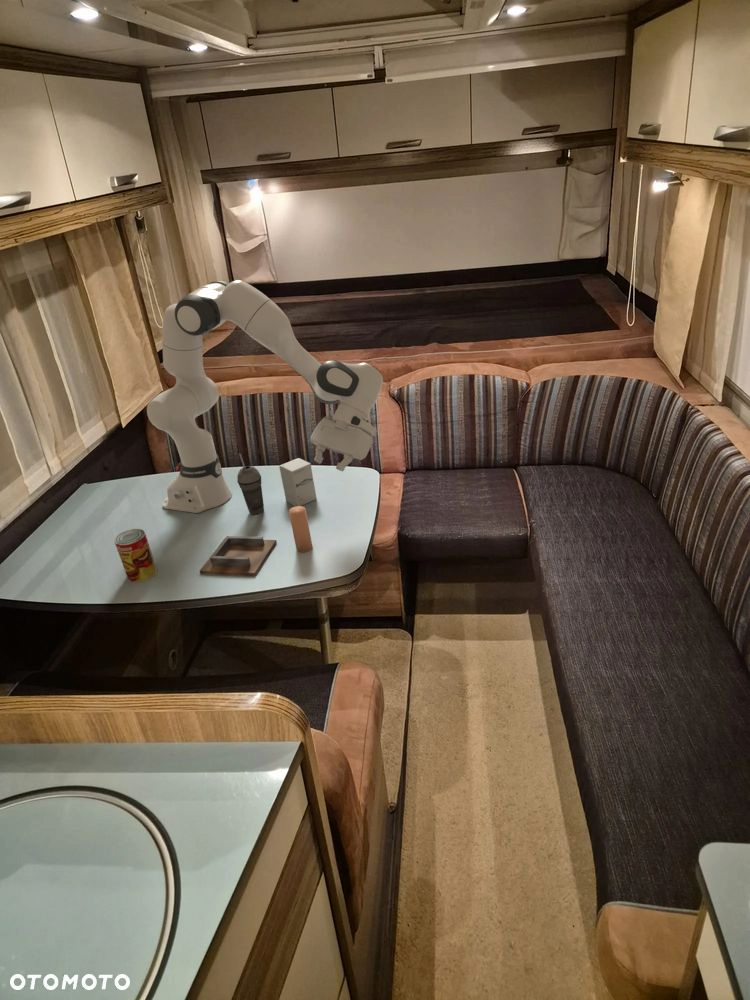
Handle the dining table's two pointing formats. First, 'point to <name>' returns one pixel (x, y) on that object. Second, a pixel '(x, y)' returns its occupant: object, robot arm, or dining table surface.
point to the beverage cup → (251, 488)
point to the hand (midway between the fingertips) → (328, 466)
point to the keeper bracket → (239, 556)
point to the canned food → (136, 555)
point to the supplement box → (298, 482)
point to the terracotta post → (300, 529)
